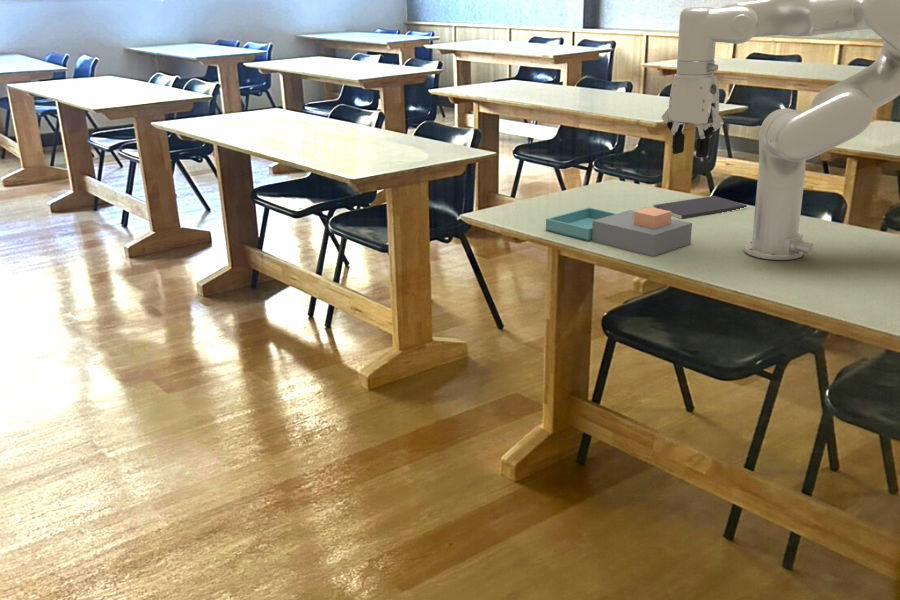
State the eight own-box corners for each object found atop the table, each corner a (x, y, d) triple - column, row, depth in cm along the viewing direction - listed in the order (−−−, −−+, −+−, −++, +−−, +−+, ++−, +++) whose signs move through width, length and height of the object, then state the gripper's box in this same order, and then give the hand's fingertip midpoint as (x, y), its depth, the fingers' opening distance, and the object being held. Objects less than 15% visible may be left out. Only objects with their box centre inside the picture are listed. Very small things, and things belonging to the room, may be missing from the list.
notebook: (681, 221, 223) (746, 210, 231) (682, 215, 223) (746, 205, 231) (651, 210, 234) (714, 201, 242) (652, 205, 234) (715, 195, 242)
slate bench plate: (690, 243, 202) (692, 223, 201) (653, 256, 194) (654, 235, 192) (629, 229, 215) (630, 209, 214) (592, 240, 207) (592, 220, 205)
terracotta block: (670, 224, 200) (671, 211, 199) (654, 229, 197) (655, 216, 196) (649, 219, 205) (650, 207, 204) (633, 224, 201) (634, 211, 200)
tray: (631, 228, 216) (631, 216, 215) (588, 241, 207) (588, 229, 206) (588, 218, 226) (589, 207, 225) (545, 230, 217) (546, 218, 216)
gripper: (741, 69, 178) (734, 157, 184) (672, 65, 191) (667, 147, 197) (720, 72, 174) (713, 162, 180) (650, 68, 186) (646, 152, 192)
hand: (689, 153), depth 188 cm, fingers open, 5 cm apart
